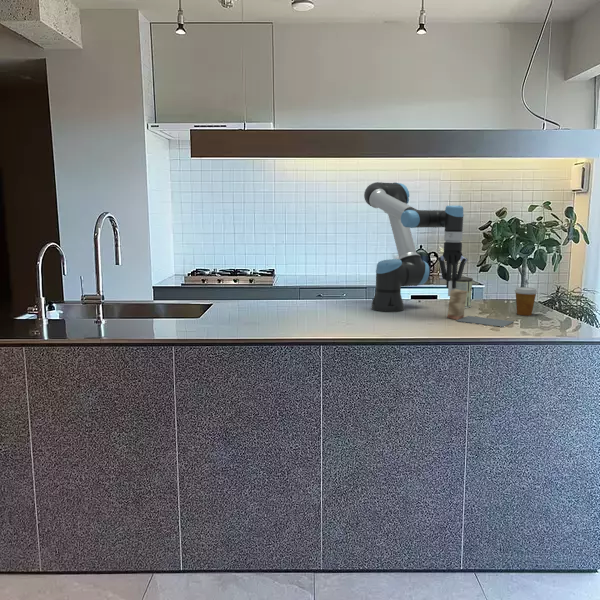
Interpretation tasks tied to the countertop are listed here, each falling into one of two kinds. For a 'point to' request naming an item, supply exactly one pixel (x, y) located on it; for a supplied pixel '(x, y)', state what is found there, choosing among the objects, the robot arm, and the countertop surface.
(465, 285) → the lidded glass jar
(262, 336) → the countertop surface
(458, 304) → the oak block
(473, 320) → the mat
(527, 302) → the disposable coffee cup
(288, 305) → the countertop surface
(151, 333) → the countertop surface
